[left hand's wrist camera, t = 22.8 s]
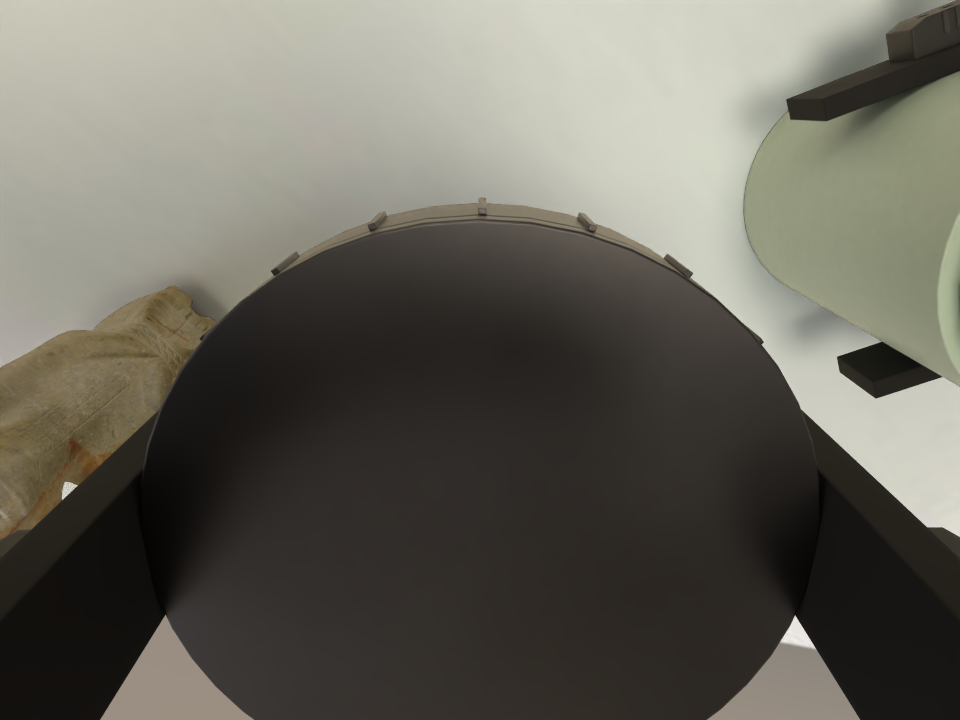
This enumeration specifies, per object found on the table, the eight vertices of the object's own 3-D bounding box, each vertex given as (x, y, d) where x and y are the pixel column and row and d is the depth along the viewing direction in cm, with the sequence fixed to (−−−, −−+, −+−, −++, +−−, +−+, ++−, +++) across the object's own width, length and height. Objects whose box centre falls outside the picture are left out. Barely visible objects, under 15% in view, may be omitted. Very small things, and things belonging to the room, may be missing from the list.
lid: (775, 691, 14) (812, 765, 12) (264, 743, 14) (238, 819, 13) (790, 152, 10) (848, 160, 8) (91, 251, 10) (24, 275, 9)
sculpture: (76, 343, 33) (-226, 523, 19) (174, 252, 31) (-75, 375, 17) (165, 425, 34) (-49, 647, 20) (263, 343, 33) (103, 522, 19)
